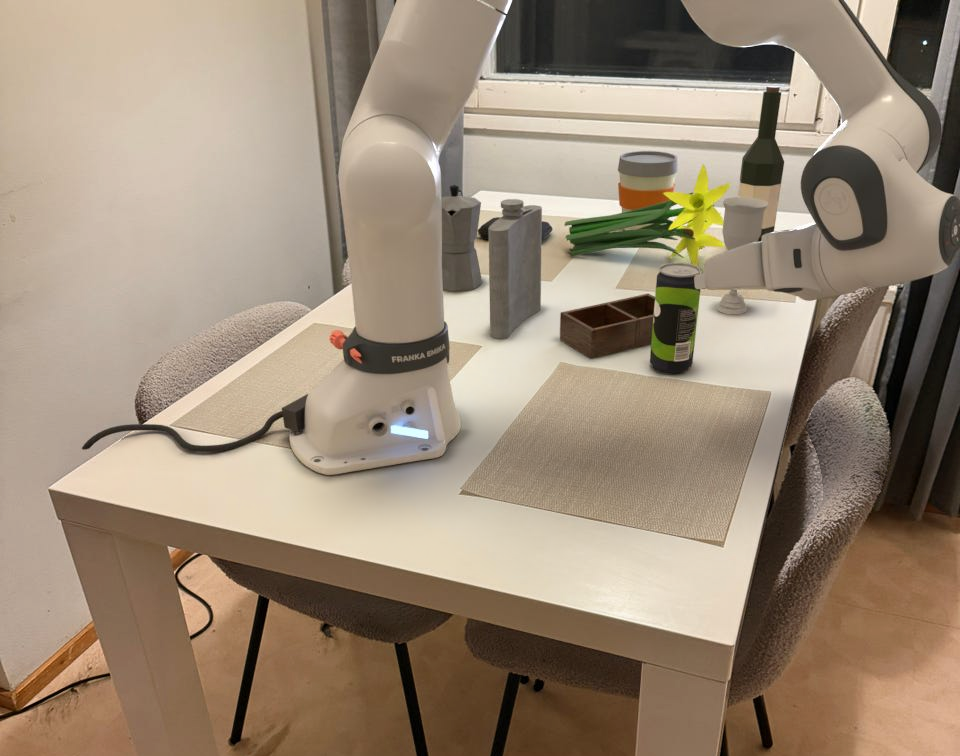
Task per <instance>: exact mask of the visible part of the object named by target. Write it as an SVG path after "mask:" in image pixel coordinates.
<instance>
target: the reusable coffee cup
mask: <svg viewBox="0 0 960 756" xmlns="http://www.w3.org/2000/svg"><path fill="white" fill-rule="evenodd" d="M678 162H679V161H678V156H677V155H676V154H675V153H670V152H665V151H656V150H640V151H639V150H638V151H629V152H625V153H622V154H620V156H619V160H618V165H617V166H618V167H617V172H619V173H618V174H619V182H618V184H617V187H618V202H619V207H621V213H623V212H627V211H631V210H635V209H639V208H644V207H647V206H651V205H655V204H658V203H662V202H666V201H669V200H671V199H669V198H668V197H667V196H665V195H664V194H663V193H664V192H675V188H676V184H675V178H676V174H677V173H678V170H679V169H678V167H679V166H678ZM648 225H651V224H643V225H636V226H632V227H628V228H624V229H623V231H626V230H636V229H639V228H642V227H645V226H648ZM661 225H663V224H661Z"/></svg>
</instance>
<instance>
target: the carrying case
mask: <svg viewBox="0 0 960 756" xmlns="http://www.w3.org/2000/svg"><path fill="white" fill-rule="evenodd" d="M501 217H502V216H498V217H497V216H495V217H492V218H491V219H489V220H488V221H486V222H485V223H483V224H482V225H480V227H478V232H477V235H479V236H480V237H481V239H483V240H489V234H488V228H489V227H490V226H491V225H492V224H493V223H494V222H495V221H496V220H498V219H499V218H501ZM551 233H553V227H552V225H551V224H550V223H549V222H548V221H544V220H542V240H541V242H542V241H543V240H545V238H547V237H548V236H549V235H550V234H551Z"/></svg>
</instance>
